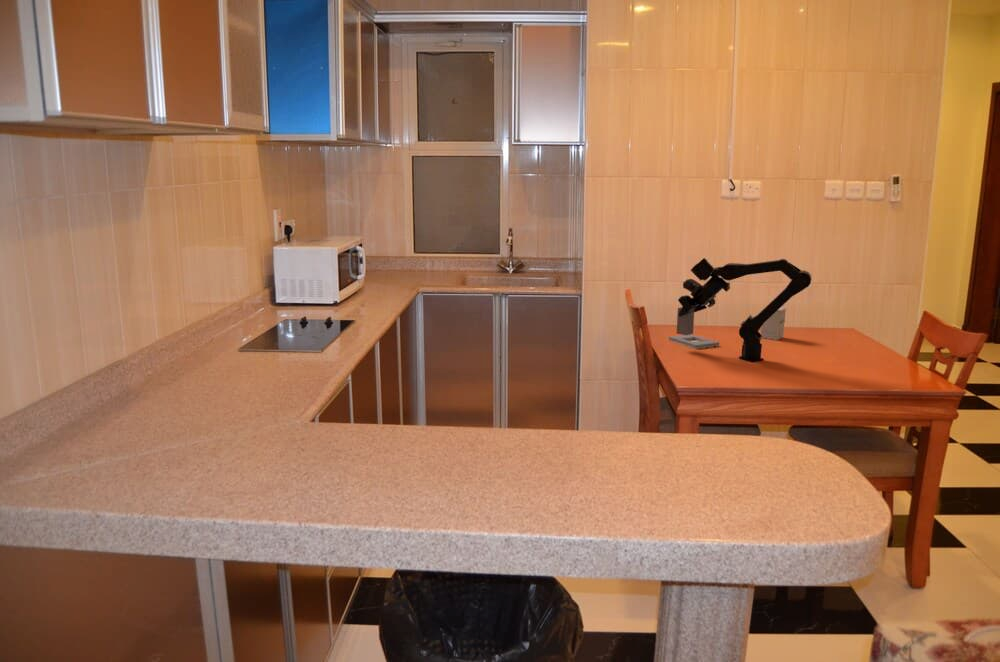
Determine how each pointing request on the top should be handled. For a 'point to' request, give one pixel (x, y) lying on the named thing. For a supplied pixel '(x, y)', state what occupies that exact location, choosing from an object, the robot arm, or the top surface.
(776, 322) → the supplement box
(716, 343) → the socket
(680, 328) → the plug
